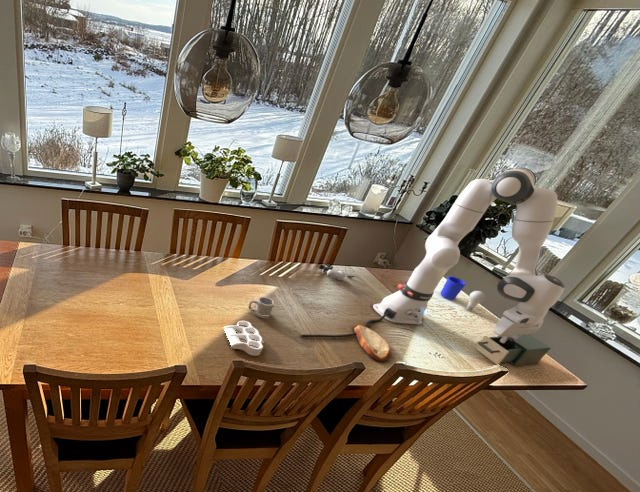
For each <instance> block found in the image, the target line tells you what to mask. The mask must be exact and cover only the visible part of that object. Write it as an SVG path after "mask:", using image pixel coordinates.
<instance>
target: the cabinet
mask: <svg viewBox="0 0 640 492" xmlns="http://www.w3.org/2000/svg"><path fill="white" fill-rule="evenodd" d="M510 337H511V336H510ZM515 342H516V343H515V344H516V345H518V346H519V347H521V348H522V349H524V351H523V352H522V354H521V355H520V356H519V357H518V358H517V360H516V361H511V362H509V363H510V364H511V365H512V366H525V365H535V364H538V363H540V361H541V360H542V358H544V356H545V355H546V354H547V353H548V352H549V351H550V350H551V347H550V346H549V345H548V344H546V343H544V341H543V342H542V340H540V339H538V338H537V337H535V336H533V334H527V335H522V336H521V337H519V338H518V339H516V340H515Z"/></svg>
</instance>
